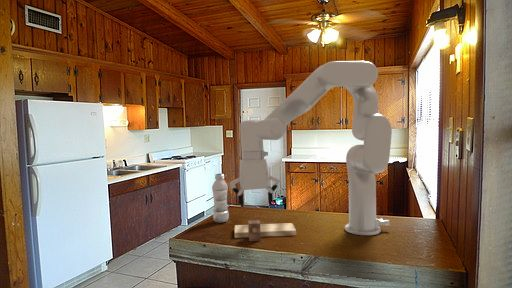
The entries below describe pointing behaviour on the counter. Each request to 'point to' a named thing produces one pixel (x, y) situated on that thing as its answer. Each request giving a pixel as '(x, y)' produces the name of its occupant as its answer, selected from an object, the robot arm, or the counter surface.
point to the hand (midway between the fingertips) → (256, 205)
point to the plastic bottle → (220, 199)
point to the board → (267, 230)
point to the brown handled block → (254, 230)
